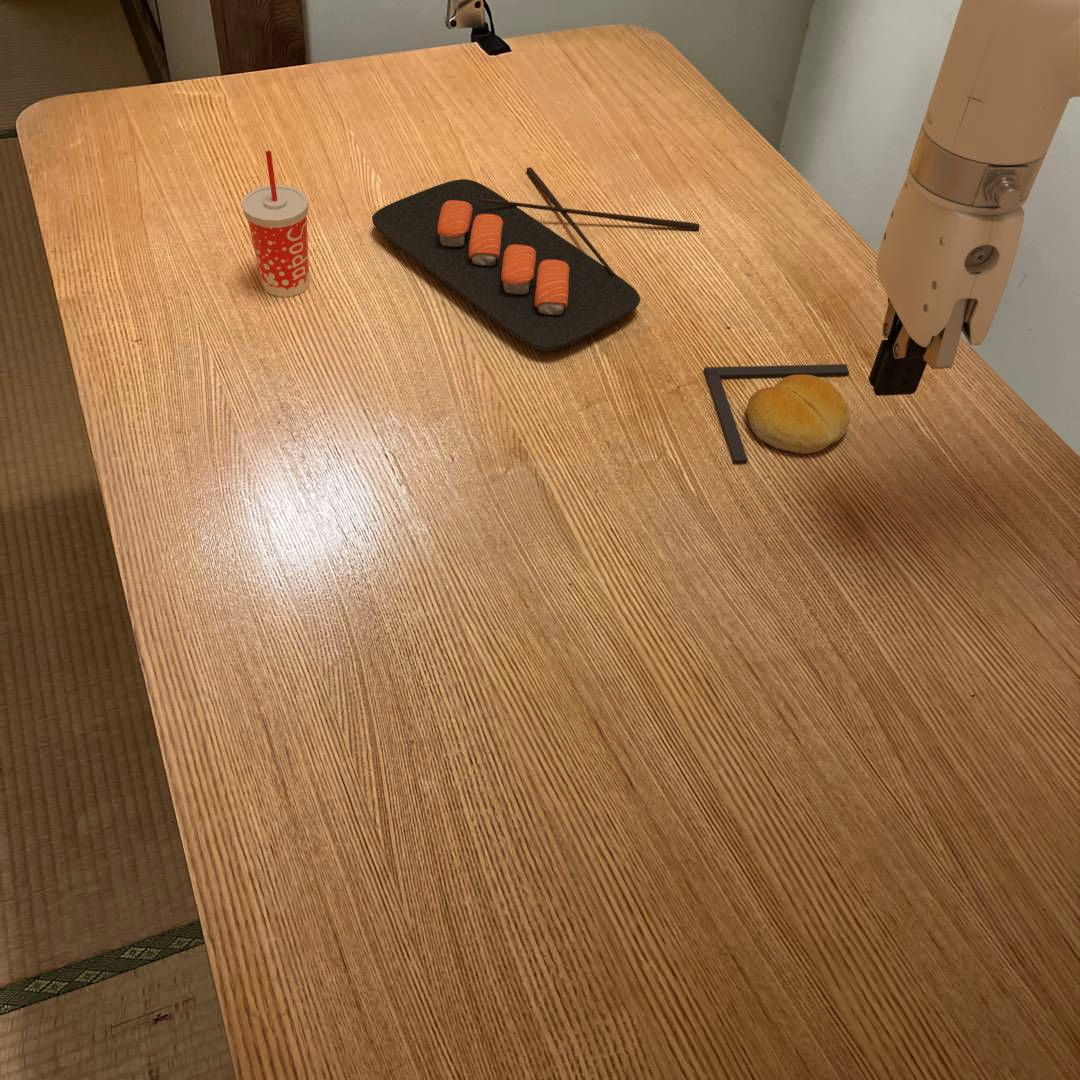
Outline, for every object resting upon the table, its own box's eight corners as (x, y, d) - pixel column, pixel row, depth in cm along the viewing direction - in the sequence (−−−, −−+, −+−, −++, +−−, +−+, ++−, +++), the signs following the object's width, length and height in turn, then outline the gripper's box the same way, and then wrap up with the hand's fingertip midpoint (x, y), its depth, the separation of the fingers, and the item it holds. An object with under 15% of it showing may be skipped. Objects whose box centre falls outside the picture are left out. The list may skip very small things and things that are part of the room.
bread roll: (727, 416, 98) (736, 382, 95) (799, 384, 102) (809, 350, 99) (789, 471, 94) (800, 437, 91) (861, 436, 97) (874, 402, 94)
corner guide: (844, 368, 104) (845, 363, 103) (886, 459, 96) (888, 455, 95) (703, 371, 102) (704, 366, 102) (733, 464, 94) (734, 460, 93)
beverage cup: (272, 308, 104) (252, 176, 94) (243, 276, 107) (221, 145, 97) (328, 289, 107) (315, 158, 96) (299, 258, 110) (283, 128, 100)
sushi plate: (360, 230, 114) (358, 198, 111) (568, 147, 128) (571, 117, 125) (542, 372, 101) (545, 339, 98) (752, 261, 115) (759, 230, 112)
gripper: (1084, 227, 63) (975, 455, 76) (986, 103, 72) (905, 325, 86) (961, 231, 62) (873, 460, 76) (878, 105, 72) (815, 328, 85)
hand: (891, 387), depth 81 cm, fingers closed
